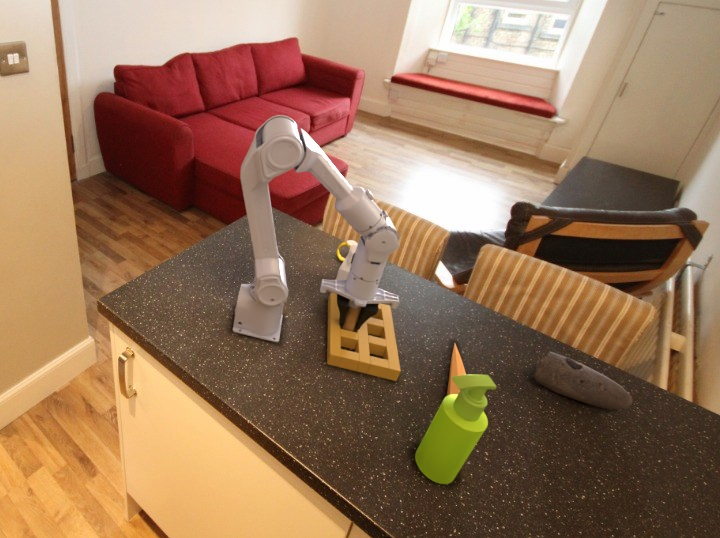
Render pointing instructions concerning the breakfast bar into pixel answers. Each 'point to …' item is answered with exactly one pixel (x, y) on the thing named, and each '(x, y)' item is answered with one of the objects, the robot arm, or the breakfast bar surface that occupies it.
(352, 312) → the peg
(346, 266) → the medicine bottle
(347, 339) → the peg block
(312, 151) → the robot arm
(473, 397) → the soap dispenser
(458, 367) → the carrot
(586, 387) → the perforated stone tool
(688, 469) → the breakfast bar surface
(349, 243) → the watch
